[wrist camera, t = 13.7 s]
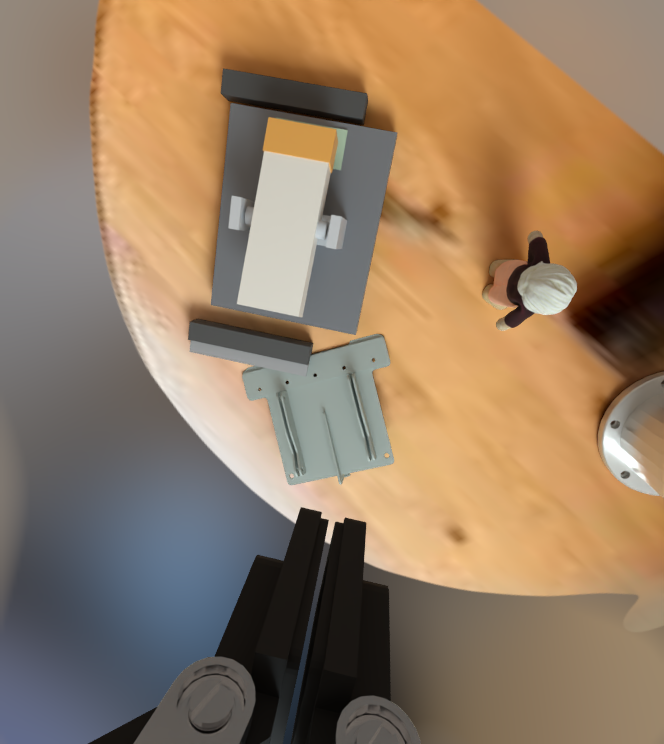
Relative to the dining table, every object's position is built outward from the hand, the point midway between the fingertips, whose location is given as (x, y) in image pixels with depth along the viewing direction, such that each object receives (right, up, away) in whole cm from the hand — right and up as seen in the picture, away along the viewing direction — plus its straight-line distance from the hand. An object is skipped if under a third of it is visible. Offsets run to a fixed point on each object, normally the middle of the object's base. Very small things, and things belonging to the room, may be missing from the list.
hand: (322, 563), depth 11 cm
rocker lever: (-3, +17, +24) cm, 29 cm away
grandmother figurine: (+16, +13, +28) cm, 35 cm away
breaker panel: (-3, +18, +29) cm, 34 cm away
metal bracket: (0, +1, +34) cm, 34 cm away
